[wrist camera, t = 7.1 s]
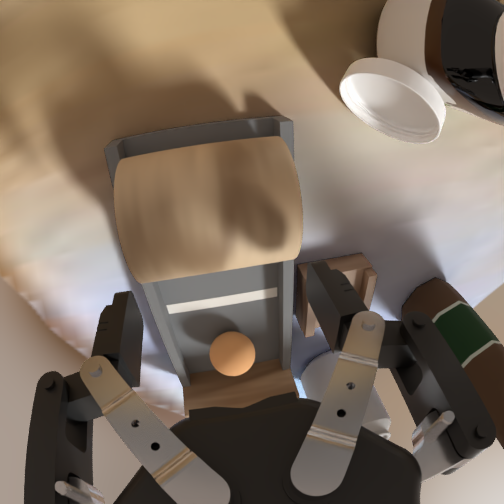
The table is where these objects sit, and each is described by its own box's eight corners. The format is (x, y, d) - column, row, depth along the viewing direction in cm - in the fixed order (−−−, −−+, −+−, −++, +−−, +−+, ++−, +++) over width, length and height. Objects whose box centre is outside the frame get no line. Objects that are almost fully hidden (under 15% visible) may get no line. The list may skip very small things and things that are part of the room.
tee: (297, 264, 25) (309, 287, 23) (361, 253, 26) (377, 273, 24) (295, 315, 29) (305, 339, 26) (352, 303, 29) (365, 324, 27)
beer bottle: (408, 333, 35) (496, 484, 16) (389, 308, 31) (498, 493, 12) (453, 295, 33) (554, 436, 14) (440, 263, 29) (570, 431, 10)
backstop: (181, 370, 30) (185, 415, 26) (284, 352, 32) (299, 395, 27) (185, 378, 31) (188, 422, 27) (284, 361, 32) (298, 403, 28)
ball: (206, 329, 28) (213, 369, 28) (205, 342, 24) (213, 386, 24) (249, 323, 28) (255, 362, 28) (254, 334, 24) (261, 379, 24)
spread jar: (462, 37, 16) (576, 59, 7) (437, 151, 22) (542, 214, 12) (344, -28, 13) (468, -69, 4) (316, 115, 19) (433, 172, 9)
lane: (112, 140, 17) (103, 148, 15) (282, 115, 19) (293, 121, 17) (181, 370, 30) (182, 387, 28) (284, 352, 32) (290, 368, 30)
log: (131, 145, 17) (102, 184, 11) (265, 125, 18) (303, 154, 12) (153, 241, 21) (143, 310, 15) (270, 223, 22) (300, 284, 16)
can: (286, 380, 35) (315, 468, 25) (322, 340, 32) (364, 436, 22) (332, 383, 38) (363, 459, 28) (367, 347, 35) (410, 427, 25)
